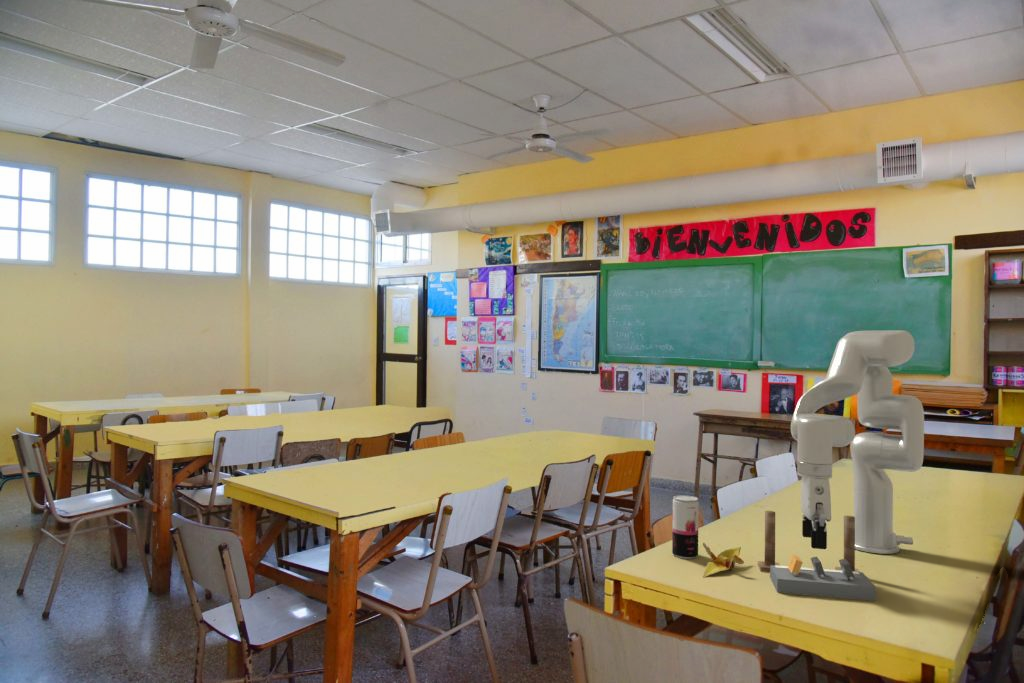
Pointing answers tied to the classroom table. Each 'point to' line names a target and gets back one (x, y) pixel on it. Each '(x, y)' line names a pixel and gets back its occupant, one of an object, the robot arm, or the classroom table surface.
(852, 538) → the post right
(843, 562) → the toggle
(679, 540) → the beverage can
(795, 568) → the toggle
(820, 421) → the robot arm
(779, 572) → the panel
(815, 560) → the toggle
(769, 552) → the post left
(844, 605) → the classroom table surface
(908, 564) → the classroom table surface
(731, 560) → the origami crane
